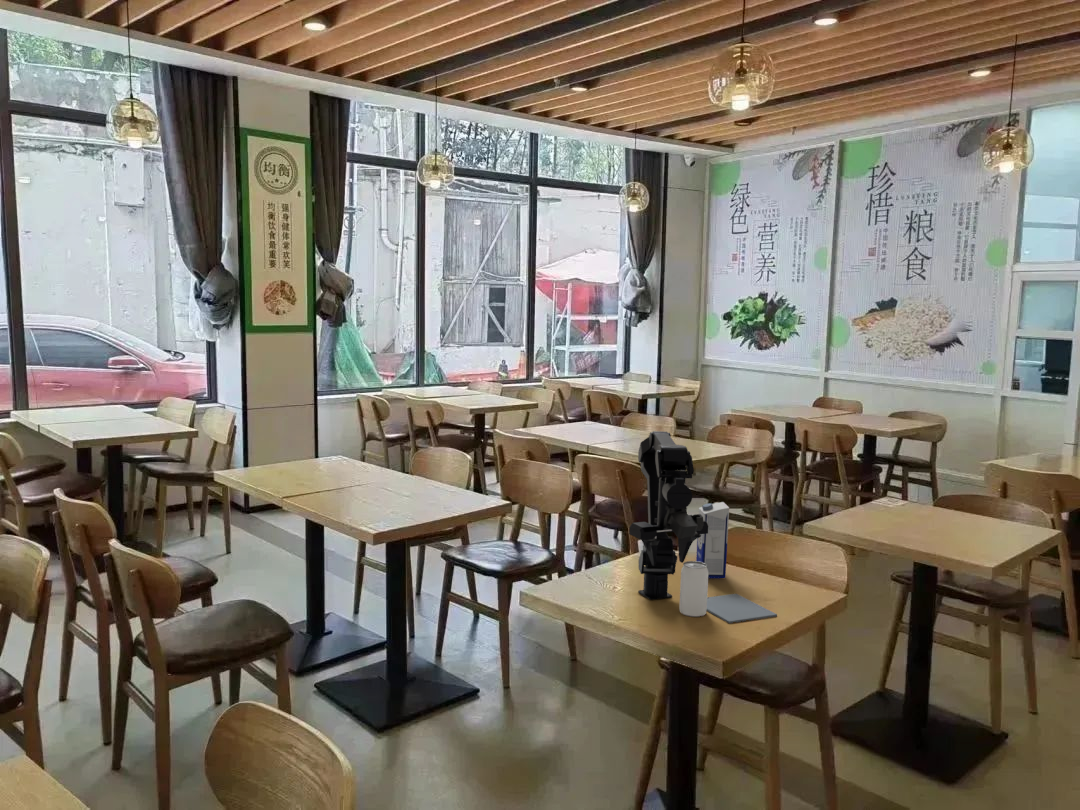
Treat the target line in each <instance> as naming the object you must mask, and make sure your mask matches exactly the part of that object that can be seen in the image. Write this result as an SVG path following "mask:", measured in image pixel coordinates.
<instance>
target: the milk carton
mask: <svg viewBox="0 0 1080 810" xmlns="http://www.w3.org/2000/svg"><path fill="white" fill-rule="evenodd" d="M698 514H701V515H702V516H703V520H704V521H706V522H707V523H708V526H709V532H708V534H700V535H701V537H700V538H697V539H696V556H695V558H696V559H695V561H698V562H703V563H705V564H707V569H708V579H720V578H725V579H726V578H727V577H726V572H727V556H728V555H727V553H728V537H729V534H728V533H729V520H730V519H729V517H730V507H729V506H728V505H727V504H726V503H725V502H724V501H721V502H716V503H715V502H714V503H704V504H703V505H702V506H701V507H698Z"/></svg>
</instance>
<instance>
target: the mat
mask: <svg viewBox="0 0 1080 810" xmlns="http://www.w3.org/2000/svg"><path fill="white" fill-rule="evenodd" d="M706 612H708V613H710V614H712V615H713V616H715V617H716V618H719V619H720V620H722V621H723V622H725V621H726V623H727V624H734V623H733V622H736V623H741V621H742V622H747V621H746V620H749V621H754V619H756V620H761V619H769V618H774V617H775V618H776V617H777V616H778V614H777V613H776V612H773V611H771V610H770V609H767V608H765V607H763V606H761V605H759V604H758V603H756V602H754V601H752V600H750V599H748V598H746V597H745V596H742V595H740V594H739V593H730V594H723V595H717V596H707V610H706ZM768 617H769V618H768Z"/></svg>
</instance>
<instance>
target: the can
mask: <svg viewBox="0 0 1080 810" xmlns="http://www.w3.org/2000/svg"><path fill="white" fill-rule="evenodd" d="M682 565H683V566H682V568H681V570H680V571H681V572H680V584H679V585H680V587H679V591H680V592H679V609H678V610H679V612H680V613H681V614H682V615H683V616H686V617H689V618H690V617H691V618H700V616H701V617H704V616H705V615H706V614H707V611H706V610H707V597H708V588H709V578H708V569H707V564H705V563H703V562H698V561H696V560H688V561H684V562H683V563H682Z"/></svg>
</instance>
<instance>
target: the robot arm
mask: <svg viewBox="0 0 1080 810" xmlns="http://www.w3.org/2000/svg"><path fill="white" fill-rule="evenodd" d="M637 453H638V454H637V457H638V458H637V460H638V463H640V471H641V473H642V474H643V475H644V477H645V478H646V481H647V514H648V516H647V517H648V518H647V519H648V522H646V521H638V522H636V521H635V522H632V523H631V524H630V526H629V531H628V532H629V533H628V534H629V535H630V536H632V537H635V538H636V539H638V540H640V541H641V542H642V544H643V545H642V549H641V550H640V553H639V558H638V570H639V571H638V572H640V574H641V575H643V589H639V590H638V591H637V592H638V593H639V594H640V595H642V596H644V598H647V599H648V600H650V601H656V600H662V599H670V598H673V594H671V593H669V592H668V587H669V585H668V584H669V582H668V581H669V580H668V579H669V578H668V576H669V575H673V576H675V575H674V574H675V573H676V565H677V562H678V561H679V562H680V563H682V564H683V563H684V562H685V560H686V557H687V555H688V553H689V550H690V548H691V546H692V544H693V543H694V541H695V540H697V538H700V537H701V535H700V534H708V532H709V526H708V523H707V522H706V521H704V520H703V516H702V515H701V514H699V513H698V514H697V513H695V514H689V513H688V512H687V509H688V506H690V504H691V503H692V500H693V492H692V490H691V488H690V487H689V486H688V485H687V483H686V479H693V474H694V471H695V469H694V462H693V456H692V454H691V452H690V450H689V449H688V447H687V446H686V445H683V444H676V442H675V441H674V440H673V438H672V436H671V433H670V432H668V431H658V430H657V431H656V430H655V431H654V430H653V431H651V432H650V431H649V435H648V437H646V438H644V439H643V440H642V441H641V442H640V444H639V448H638V452H637ZM667 533H673V534H675V536H676V537H677V543H678V545H677V546H678V547H677V549H678V555H676V550H674V544H673V543H674V542H673V539H672V538H671V537H669V534H667Z"/></svg>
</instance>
